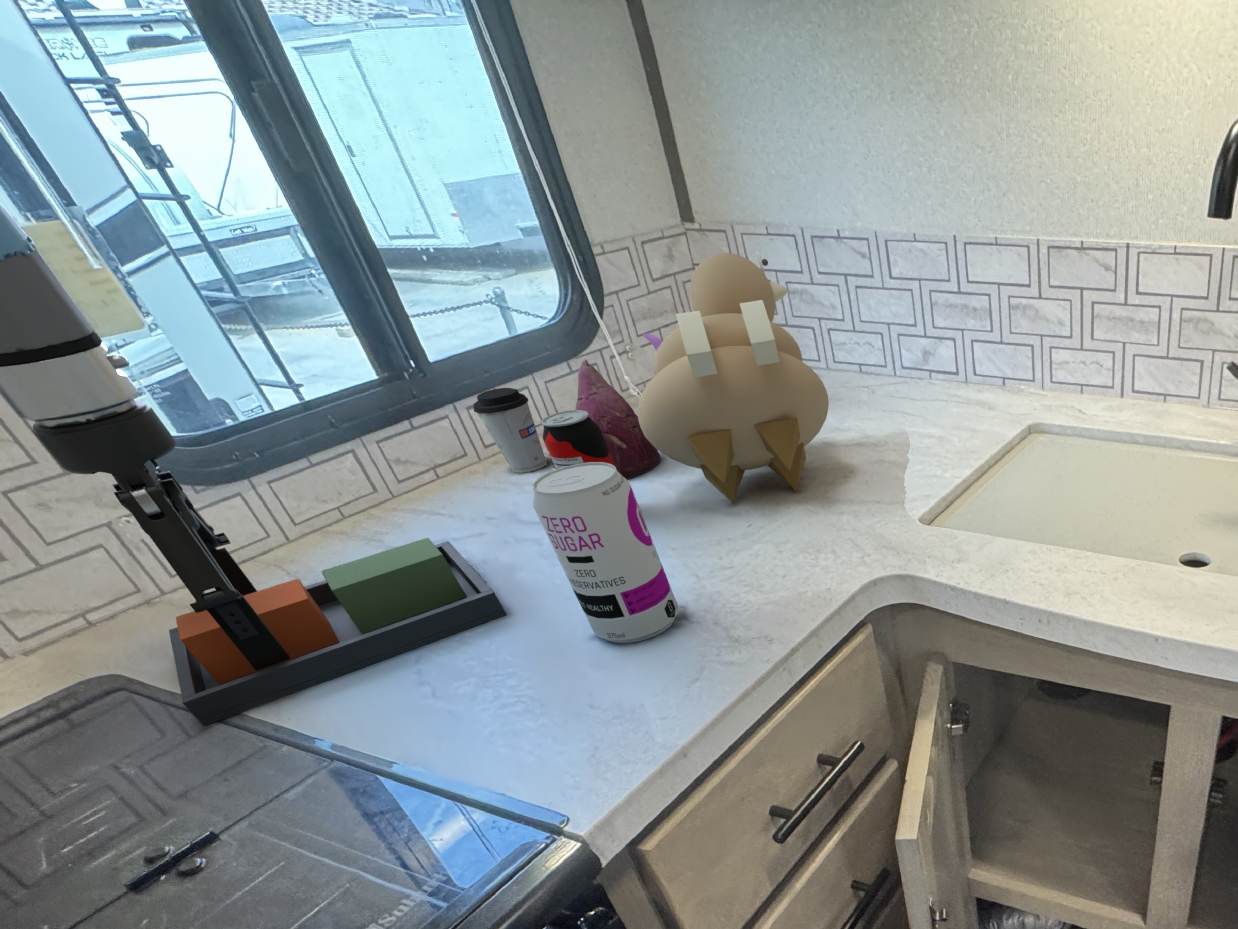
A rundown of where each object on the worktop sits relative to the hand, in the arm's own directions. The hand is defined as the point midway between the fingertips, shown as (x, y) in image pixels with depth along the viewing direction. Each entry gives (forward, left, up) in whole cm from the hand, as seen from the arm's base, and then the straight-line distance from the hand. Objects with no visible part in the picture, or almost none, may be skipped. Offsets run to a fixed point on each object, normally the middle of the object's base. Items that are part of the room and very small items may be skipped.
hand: (263, 637), depth 81 cm
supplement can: (+22, +28, -2) cm, 36 cm away
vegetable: (-23, +44, -2) cm, 50 cm away
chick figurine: (-2, +54, -2) cm, 54 cm away
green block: (0, +12, -2) cm, 12 cm away
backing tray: (0, +6, -2) cm, 7 cm away
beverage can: (-8, +36, -2) cm, 37 cm away
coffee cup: (-35, +35, -2) cm, 50 cm away
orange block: (0, 0, -2) cm, 2 cm away
